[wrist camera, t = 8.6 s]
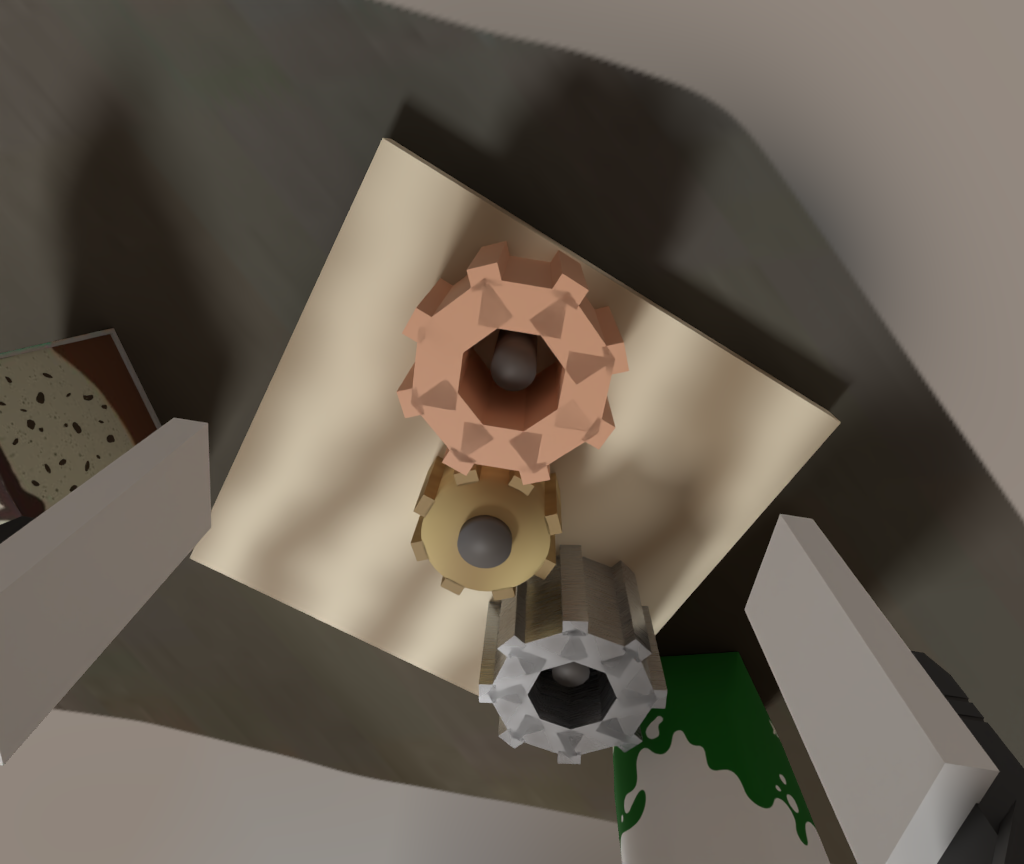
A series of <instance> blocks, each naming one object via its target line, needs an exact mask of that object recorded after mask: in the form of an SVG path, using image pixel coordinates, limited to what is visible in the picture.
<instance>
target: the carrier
mask: <svg viewBox="0 0 1024 864" xmlns="http://www.w3.org/2000/svg"><path fill="white" fill-rule="evenodd" d="M504 241H507V246H508V250H509V254H510V256H516V257H522V258H527V259H533V260H539V261H545V262H551V261H552V259H553V258H554V256H555V255H556V253H557V251H558V250H560V251H562V252H563V253H565V254H566V255H568V256H569V257H571V258H572V259H574V260H575V261H577V262H579V263H580V265H581V268H582V271H583V274H584V277H585V280H586V283H587V286H588V289H589V291H588V292H587V294H586V295H585V296H586V297H587V299H588V300H589V302H590V303H591V305H592V306H593V308H594V309H598V308H602V307H607V306H609V308H610V310H611V313H612V315H613V318H614V320H615V322H616V325H617V327H618V329H619V332H620V334H621V336H622V339H623V341H624V345H625V351H626V356H627V362H628V368H629V371H626V372H622V373H617V374H612V376H611V381H610V385H609V389H608V394H607V397H608V401H609V405H610V408H611V412H612V416H613V420H614V424H615V429H614V430H613V432H612V433H611V434H610V436H609V437H608V438H607V440H606V441H605V442H604V444H603V445H602V446H601V448H600V449H599V450H598V449H597V448H595V447H593V446H592V445H590V444H588V443H587V442H584V443H582V444H581V445H579V446H578V447H576V448H574V449H573V450H571V451H570V452H568V453H566V454H565V455H563V456H562V457H560V458H558V459H557V460H555V461H554V462H552V463H550V480H547V481H542V482H536V483H531V484H526V485H523V483H522V479H521V476H520V472H519V471H516V470H509V469H503V468H497V467H491V466H485V465H478V464H474V465H473V466H472V468H471V469H470V471H469V473H468V474H467V476H465V475H464V474H462V473H460V472H458V471H456V470H455V469H453V468H451V467H449V466H448V465H446V464H444V463H442V461H443V458H444V455H445V452H446V449H447V446H446V445H445V444H444V442H443V441H442V440H441V439H440V438H439V436H438V435H437V434H436V433H435V432H434V430H433V429H432V428H431V427H430V426H429V424H428V423H427V422H426V421H425V419H424V418H423V417H422V416H421V415H418V416H414V417H409V418H405V417H404V414H403V410H402V407H401V404H400V401H399V398H398V395H397V390H398V388H399V387H400V385H401V384H402V382H403V380H404V379H405V377H406V375H407V374H408V372H409V371H410V369H411V367H412V366H413V364H414V362H415V358H416V348H417V342H415V341H414V340H412V339H410V338H409V337H407V336H405V335H404V334H402V332H403V330H404V328H405V327H406V325H407V323H408V321H409V319H410V318H411V316H412V314H413V312H414V310H415V309H416V307H417V306H418V305H419V304H420V302H421V301H422V300H423V299H424V297H425V296H426V295H427V294H428V293H429V291H430V290H431V289H432V288H433V287H434V285H435V284H436V283H437V282H438V280H439V279H440V278H441V279H443V280H445V281H446V282H448V283H450V284H451V285H454V284H456V283H457V282H458V281H460V280H461V279H462V278H464V277H465V276H466V275H468V274H467V268H468V267H469V265H470V264H471V262H472V261H473V259H474V258H475V256H476V255H477V253H478V252H479V250H480V249H481V247H483V246H487V245H491V244H495V243H499V242H504ZM474 350H475V351H476V353H477V354H478V355H479V357H480V358H481V359H482V360H483V362H484V363H485V364H486V366H487V367H488V368H489V370H490V371H491V375H492V378H493V380H494V381H495V383H496V384H497V385H498V386H499V387H501V388H503V389H505V390H508V391H520V390H523V389H525V388H527V387H528V386H529V385H530V384H531V383H532V382H533V380H534V378H535V376H536V375H537V374H538V373H540V372H541V371H543V370H544V369H546V368H547V367H549V366H550V365H552V364H553V363H555V360H556V356H555V354H554V353H553V352H552V350H551V349H550V348H549V346H548V345H547V343H546V342H545V341H544V339H543V338H542V336H541V335H535V334H528V333H522V332H516V331H510V330H504V329H498V328H497V329H496V330H494V331H493V332H492V333H490V334H489V335H487V336H486V337H485V338H483V339H482V340H480V341H479V342H478V343H476V344H475V345H474ZM840 423H841V422H840V421H839V420H838V419H837V418H836V417H834V416H833V415H832V414H831V413H830V412H829V411H828V410H826V409H825V408H823V407H821V406H820V405H818V404H816V403H815V402H813V401H812V400H810V399H808V398H807V397H805V396H804V395H802V394H800V393H799V392H797V391H796V390H794V389H792V388H791V387H789V386H788V385H786V384H784V383H783V382H781V381H780V380H778V379H776V378H775V377H773V376H771V375H770V374H768V373H767V372H765V371H763V370H762V369H760V368H759V367H757V366H755V365H754V364H752V363H751V362H749V361H747V360H746V359H744V358H743V357H741V356H739V355H738V354H736V353H734V352H733V351H731V350H730V349H728V348H726V347H725V346H723V345H722V344H720V343H718V342H717V341H715V340H714V339H712V338H710V337H709V336H707V335H706V334H704V333H702V332H701V331H699V330H698V329H696V328H694V327H693V326H691V325H689V324H688V323H686V322H685V321H683V320H681V319H680V318H678V317H677V316H675V315H673V314H672V313H670V312H669V311H667V310H665V309H664V308H662V307H661V306H659V305H657V304H656V303H654V302H652V301H651V300H649V299H648V298H646V297H644V296H643V295H641V294H640V293H638V292H636V291H635V290H633V289H632V288H630V287H628V286H627V285H625V284H624V283H622V282H620V281H619V280H617V279H616V278H614V277H612V276H611V275H609V274H607V273H606V272H604V271H603V270H601V269H599V268H598V267H596V266H595V265H593V264H591V263H590V262H588V261H587V260H585V259H583V258H582V257H580V256H579V255H577V254H575V253H574V252H572V251H571V250H569V249H567V248H566V247H564V246H562V245H561V244H559V243H558V242H556V241H554V240H553V239H551V238H550V237H548V236H546V235H545V234H543V233H542V232H540V231H538V230H537V229H535V228H534V227H532V226H530V225H529V224H527V223H525V222H524V221H522V220H521V219H519V218H517V217H516V216H514V215H513V214H511V213H509V212H508V211H506V210H505V209H503V208H501V207H500V206H498V205H497V204H495V203H493V202H492V201H490V200H489V199H487V198H485V197H484V196H482V195H480V194H479V193H477V192H476V191H474V190H472V189H471V188H469V187H468V186H466V185H464V184H463V183H461V182H460V181H458V180H456V179H455V178H453V177H452V176H450V175H448V174H447V173H445V172H443V171H442V170H440V169H439V168H437V167H435V166H434V165H432V164H431V163H429V162H427V161H426V160H424V159H423V158H421V157H419V156H418V155H416V154H415V153H413V152H411V151H410V150H408V149H407V148H405V147H403V146H402V145H400V144H398V143H397V142H395V141H394V140H392V139H389V138H382V141H381V143H380V145H379V147H378V149H377V152H376V154H375V156H374V158H373V160H372V162H371V165H370V167H369V169H368V171H367V173H366V175H365V178H364V180H363V182H362V184H361V186H360V189H359V191H358V193H357V195H356V197H355V199H354V202H353V204H352V206H351V208H350V210H349V212H348V215H347V217H346V219H345V221H344V223H343V226H342V228H341V230H340V232H339V234H338V236H337V239H336V241H335V243H334V245H333V247H332V249H331V252H330V254H329V256H328V258H327V260H326V263H325V265H324V267H323V269H322V271H321V273H320V276H319V278H318V280H317V282H316V284H315V286H314V289H313V291H312V293H311V295H310V297H309V300H308V302H307V304H306V306H305V308H304V310H303V313H302V315H301V317H300V319H299V321H298V323H297V326H296V328H295V330H294V332H293V334H292V337H291V339H290V341H289V343H288V345H287V347H286V350H285V352H284V354H283V356H282V358H281V360H280V363H279V365H278V367H277V369H276V371H275V374H274V376H273V378H272V380H271V382H270V384H269V387H268V389H267V391H266V393H265V395H264V397H263V400H262V402H261V404H260V406H259V408H258V411H257V413H256V415H255V417H254V419H253V421H252V424H251V426H250V428H249V430H248V432H247V434H246V437H245V439H244V441H243V443H242V445H241V448H240V450H239V452H238V454H237V456H236V458H235V461H234V463H233V465H232V467H231V469H230V471H229V474H228V476H227V478H226V480H225V482H224V485H223V487H222V489H221V491H220V493H219V495H218V498H217V500H216V502H215V504H214V506H213V508H212V511H211V528H210V529H209V531H208V532H207V533H206V534H205V535H204V536H203V537H202V539H201V540H200V541H199V542H198V543H197V544H196V545H195V548H194V550H193V552H192V554H191V556H190V559H193V560H195V561H197V562H199V563H201V564H203V565H205V566H207V567H209V568H211V569H214V570H216V571H218V572H220V573H222V574H224V575H226V576H228V577H230V578H232V579H235V580H237V581H239V582H241V583H243V584H245V585H247V586H249V587H251V588H253V589H256V590H258V591H260V592H262V593H264V594H266V595H268V596H270V597H272V598H274V599H277V600H279V601H281V602H283V603H285V604H287V605H289V606H291V607H293V608H295V609H297V610H300V611H302V612H304V613H306V614H308V615H310V616H312V617H314V618H316V619H318V620H321V621H323V622H325V623H327V624H329V625H331V626H333V627H335V628H337V629H339V630H342V631H344V632H346V633H348V634H350V635H352V636H354V637H356V638H358V639H360V640H363V641H365V642H367V643H369V644H371V645H373V646H375V647H377V648H379V649H381V650H384V651H386V652H388V653H390V654H392V655H394V656H396V657H398V658H400V659H402V660H405V661H407V662H409V663H411V664H413V665H415V666H417V667H419V668H421V669H423V670H426V671H428V672H430V673H432V674H434V675H436V676H438V677H440V678H442V679H444V680H447V681H449V682H451V683H453V684H455V685H457V686H459V687H461V688H463V689H465V690H468V691H470V692H472V693H474V694H476V695H478V696H479V678H480V669H481V661H482V653H483V645H484V637H485V629H486V620H487V612H488V604H489V602H501V600H502V599H507V598H512V597H515V593H516V586H518V585H519V584H521V583H523V582H525V581H526V580H528V579H529V578H531V577H532V576H533V575H536V576H538V577H540V578H542V579H544V580H545V578H546V577H547V576H548V574H549V573H550V572H551V570H552V569H553V568H554V566H555V565H556V556H558V555H559V552H560V545H581V550H582V556H583V557H586V558H589V559H591V560H594V561H596V562H599V563H602V564H604V565H607V566H610V567H613V566H614V565H615V564H617V563H618V562H619V561H620V560H621V561H622V562H623V563H624V564H625V565H626V566H627V567H629V568H630V569H631V570H632V571H633V572H634V573H635V577H636V582H637V586H638V591H639V596H640V600H641V605H642V606H648V608H649V612H650V617H651V621H652V625H653V630H654V634H655V635H656V634H657V633H658V632H659V631H660V629H661V628H662V627H663V626H664V625H665V624H666V623H667V621H668V620H669V619H670V618H671V617H672V616H673V614H674V613H675V612H676V611H677V610H678V609H679V608H680V606H681V605H682V604H683V603H684V602H685V601H686V600H687V598H688V597H689V596H690V595H691V594H692V593H693V592H694V590H695V589H696V588H697V587H698V586H699V585H700V584H701V582H702V581H703V580H704V579H705V578H706V577H707V576H708V574H709V573H710V572H711V571H712V570H713V569H714V567H715V566H716V565H717V564H718V563H719V562H720V561H721V559H722V558H723V557H724V556H725V555H726V554H727V553H728V551H729V550H730V549H731V548H732V547H733V546H734V545H735V543H736V542H737V541H738V540H739V539H740V538H741V537H742V535H743V534H744V533H745V532H746V531H747V530H748V529H749V527H750V526H751V525H752V524H753V523H754V522H755V520H756V519H757V518H758V517H759V516H760V515H761V514H762V512H763V511H764V510H765V509H766V508H767V507H768V506H769V504H770V503H771V502H772V501H773V500H774V499H775V498H776V496H777V495H778V494H779V493H780V492H781V491H782V490H783V488H784V487H785V486H786V485H787V484H788V483H789V482H790V480H791V479H792V478H793V477H794V476H795V475H796V473H797V472H798V471H799V470H800V469H801V468H802V467H803V465H804V464H805V463H806V462H807V461H808V460H809V459H810V457H811V456H812V455H813V454H814V453H815V452H816V451H817V449H818V448H819V447H820V446H821V445H822V444H823V443H824V441H825V440H826V439H827V438H828V437H829V436H830V435H831V433H832V432H833V431H834V430H835V429H836V428H837V426H838V425H839V424H840ZM589 674H590V671H589V667H587V666H585V665H582V664H579V663H576V662H571V663H567V664H564V665H560V666H557V667H553V668H552V675H553V678H554V679H555V681H556V682H558V683H559V684H561V685H563V686H567V687H575V686H579V685H581V684H583V683H584V682H585V681H586V680H587V679H588V677H589Z"/></svg>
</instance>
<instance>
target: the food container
mask: <svg viewBox="0 0 1024 864" xmlns="http://www.w3.org/2000/svg"><path fill="white" fill-rule="evenodd" d="M160 427H162V426H161V424H160V422H159V420H158V418H157V416H156V414H155V412H154V410H153V408H152V405H151V403H150V401H149V399H148V397H147V395H146V393H145V391H144V389H143V387H142V385H141V383H140V381H139V379H138V377H137V375H136V373H135V371H134V369H133V367H132V365H131V363H130V361H129V358H128V356H127V354H126V352H125V350H124V348H123V346H122V344H121V342H120V340H119V338H118V336H117V334H116V332H115V330H114V328H111V329H106V330H102V331H97V332H93V333H88V334H84V335H80V336H75V337H71V338H66V339H62V340H57V341H53V342H49V343H44V344H40V345H35V346H31V347H26V348H22V349H18V350H13V351H9V352H4V353H0V525H1V524H3V523H6V522H8V521H11V520H13V519H16V518H18V517H21V516H26V517H32V518H37V517H38V516H39V515H41V514H42V513H43V512H45V511H46V510H48V509H49V508H50V507H52V506H53V505H54V504H56V503H57V502H59V501H60V500H61V499H63V498H64V497H65V496H67V495H68V494H70V493H71V492H72V491H74V490H75V489H76V488H78V487H79V486H81V485H82V484H83V483H85V482H86V481H87V480H89V479H90V478H92V477H93V476H94V475H96V474H97V473H98V472H100V471H101V470H103V469H104V468H105V467H107V466H108V465H109V464H111V463H112V462H114V461H115V460H116V459H118V458H119V457H120V456H122V455H123V454H125V453H126V452H127V451H129V450H130V449H131V448H133V447H134V446H136V445H137V444H138V443H140V442H141V441H142V440H144V439H145V438H147V437H148V436H149V435H151V434H152V433H153V432H155V431H156V430H158V429H159V428H160Z"/></svg>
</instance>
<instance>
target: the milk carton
mask: <svg viewBox="0 0 1024 864" xmlns="http://www.w3.org/2000/svg"><path fill="white" fill-rule="evenodd" d="M660 660H661V665H662V669H663V673H664V678H665V682H666V686H667V698H666V706H665V709H662V708H651V709H650V711H649V712H648V714H647V715H646V717H645V718H644V720H643V721H642V723H641V724H640V729H641V735H642V742H641V743H639V744H638V745H636V746H635V747H633V748H631V749H630V750H628V751H627V752H624V751H622V750H621V749H620V748H619V747H617V746H613V764H614V792H615V803H616V812H617V822H618V831H619V840H620V848H621V858H622V864H830V862H829V860H828V857H827V855H826V852H825V850H824V847H823V845H822V843H821V840H820V838H819V835H818V833H817V830H816V828H815V825H814V823H813V820H812V818H811V815H810V813H809V810H808V808H807V805H806V803H805V800H804V798H803V795H802V793H801V790H800V788H799V785H798V783H797V781H796V778H795V776H794V773H793V771H792V768H791V766H790V763H789V761H788V758H787V756H786V753H785V751H784V748H783V746H782V744H781V742H780V739H779V737H778V735H777V733H776V731H775V729H774V726H773V724H772V722H771V720H770V718H769V716H768V714H767V711H766V709H765V707H764V705H763V703H762V701H761V699H760V697H759V695H758V692H757V690H756V688H755V686H754V684H753V682H752V680H751V678H750V676H749V673H748V671H747V669H746V667H745V665H744V663H743V661H742V658H741V656H740V654H739V652H726V653H711V654H695V655H680V656H664V657H660Z"/></svg>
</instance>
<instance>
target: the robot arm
mask: <svg viewBox="0 0 1024 864" xmlns="http://www.w3.org/2000/svg"><path fill="white" fill-rule="evenodd" d="M210 528H211V497H210V466H209V435H208V423H205V422H199V421H192V420H186V419H180V418H173V419H171V420H170V421H169V422H167V423H166V424H164V425H163V426H162V427H160V428H159V429H158V430H156V431H155V432H153V433H152V434H151V435H149V436H148V437H147V438H145V439H144V440H142V441H141V442H140V443H138V444H137V445H136V446H134V447H133V448H131V449H130V450H129V451H127V452H126V453H125V454H123V455H122V456H120V457H119V458H118V459H116V460H115V461H114V462H112V463H111V464H109V465H108V466H107V467H105V468H104V469H103V470H101V471H100V472H98V473H97V474H96V475H94V476H93V477H92V478H90V479H89V480H87V481H86V482H85V483H83V484H82V485H81V486H79V487H78V488H76V489H75V490H74V491H72V492H71V493H70V494H68V495H67V496H65V497H64V498H63V499H61V500H60V501H59V502H57V503H56V504H54V505H53V506H52V507H50V508H49V509H48V510H46V511H45V512H43V513H42V514H41V515H39V516H38V517H37V518H32V517H26V516H21V517H18V518H16V519H13V520H11V521H8V522H6V523H3V524H1V525H0V765H4V764H5V763H6V762H7V761H8V760H9V758H10V757H11V756H12V755H13V753H15V751H16V750H17V749H18V748H19V747H20V746H21V745H22V743H23V742H24V741H25V740H26V739H27V738H28V737H29V735H30V734H31V733H32V732H33V731H34V730H35V729H36V727H37V726H38V725H39V724H40V723H41V722H42V721H43V719H44V718H45V717H46V716H47V715H48V714H49V713H50V711H51V710H52V709H53V708H54V707H55V706H56V705H57V703H58V702H59V701H60V700H61V699H62V698H63V697H64V695H65V694H66V693H67V692H68V691H69V690H70V689H71V687H72V686H73V685H74V684H75V683H76V682H77V681H78V679H79V678H80V677H81V676H82V675H83V674H84V673H85V671H86V670H87V669H88V668H89V667H90V666H91V665H92V663H93V662H94V661H95V660H96V659H97V658H98V656H99V655H100V654H101V653H102V652H103V651H104V650H105V648H106V647H107V646H108V645H109V644H110V643H111V642H112V640H113V639H114V638H115V637H116V636H117V635H118V634H119V632H120V631H121V630H122V629H123V628H124V627H125V626H126V624H127V623H128V622H129V621H130V620H131V619H132V618H133V616H134V615H135V614H136V613H137V612H138V611H139V610H140V608H141V607H142V606H143V605H144V604H145V603H146V602H147V600H148V599H149V598H150V597H151V596H152V595H153V594H154V592H155V591H156V590H157V589H158V588H159V587H160V586H161V584H162V583H163V582H164V581H165V580H166V579H167V578H168V576H169V575H170V574H171V573H172V572H173V571H174V570H175V568H176V567H177V566H178V565H179V564H180V563H181V562H182V560H183V559H184V558H185V557H186V556H187V555H188V553H189V552H190V551H191V550H192V549H193V548H194V547H195V545H196V544H197V543H198V542H199V541H200V540H201V539H202V537H203V536H204V535H205V534H206V533H207V532H208V531H209V529H210ZM744 610H745V612H746V614H747V617H748V619H749V621H750V623H751V626H752V628H753V630H754V632H755V634H756V637H757V639H758V641H759V643H760V646H761V648H762V650H763V652H764V655H765V657H766V659H767V661H768V664H769V666H770V668H771V670H772V673H773V675H774V677H775V679H776V682H777V684H778V686H779V688H780V691H781V693H782V695H783V697H784V700H785V702H786V704H787V706H788V709H789V711H790V713H791V715H792V717H793V720H794V722H795V724H796V726H797V729H798V731H799V733H800V735H801V738H802V740H803V742H804V744H805V747H806V749H807V751H808V753H809V756H810V758H811V760H812V762H813V765H814V767H815V769H816V771H817V774H818V776H819V778H820V780H821V783H822V785H823V787H824V789H825V792H826V794H827V796H828V798H829V801H830V803H831V805H832V807H833V809H834V812H835V814H836V816H837V818H838V821H839V823H840V825H841V827H842V830H843V832H844V834H845V836H846V839H847V841H848V843H849V845H850V848H851V850H852V852H853V854H854V857H855V859H856V861H857V863H858V864H1024V768H1023V767H1022V766H1021V765H1020V763H1019V762H1018V761H1017V759H1016V758H1015V757H1014V756H1013V754H1012V753H1011V752H1010V750H1009V749H1008V748H1007V747H1006V745H1005V744H1004V743H1003V742H1002V740H1001V739H1000V738H999V736H998V735H997V734H996V733H995V731H994V730H993V729H992V728H991V726H990V725H989V724H988V723H986V722H984V720H983V719H984V717H983V716H982V715H981V713H980V712H979V711H978V710H977V708H976V707H975V706H974V705H973V703H969V702H968V699H969V698H968V697H967V696H966V694H965V693H964V692H963V690H962V689H961V688H960V687H959V685H958V684H957V683H956V682H955V680H954V679H953V678H952V676H951V675H950V674H949V673H947V672H946V671H945V670H944V669H943V668H941V667H940V666H939V665H938V664H937V663H935V662H934V661H933V660H932V659H930V658H929V657H928V656H927V655H926V654H924V653H921V652H915V651H910V650H909V648H908V647H907V646H906V644H905V643H904V642H903V640H902V639H901V637H900V636H899V635H898V633H897V632H896V631H895V629H894V628H893V627H892V625H891V624H890V623H889V621H888V620H887V619H886V617H885V616H884V615H883V613H882V612H881V610H880V609H879V608H878V606H877V605H876V604H875V602H874V601H873V600H872V598H871V597H870V596H869V594H868V593H867V592H866V590H865V589H864V588H863V586H862V585H861V583H860V582H859V581H858V579H857V578H856V577H855V575H854V574H853V573H852V571H851V570H850V569H849V567H848V566H847V565H846V563H845V562H844V561H843V559H842V558H841V556H840V555H839V554H838V552H837V551H836V550H835V548H834V547H833V546H832V544H831V543H830V542H829V540H828V539H827V538H826V536H825V535H824V534H823V532H822V531H821V530H820V528H819V527H818V525H817V524H816V523H815V521H814V520H813V519H810V518H804V517H797V516H791V515H785V514H780V515H779V518H778V521H777V523H776V526H775V529H774V531H773V534H772V537H771V540H770V542H769V545H768V548H767V550H766V553H765V556H764V558H763V561H762V564H761V566H760V569H759V572H758V574H757V577H756V580H755V582H754V585H753V588H752V591H751V593H750V596H749V599H748V601H747V604H746V607H745V609H744Z"/></svg>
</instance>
